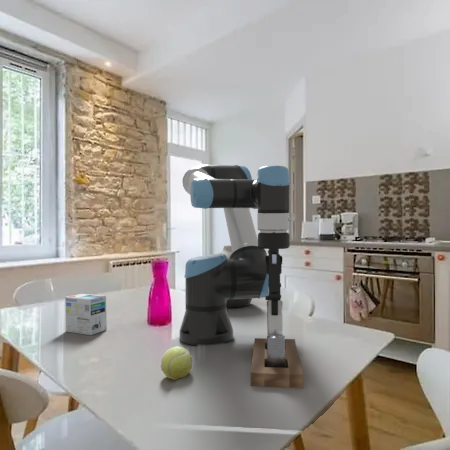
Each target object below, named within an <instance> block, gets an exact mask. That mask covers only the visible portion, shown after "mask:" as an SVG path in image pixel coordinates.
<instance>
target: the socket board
mask: <svg viewBox="0 0 450 450" xmlns="http://www.w3.org/2000/svg"><path fill="white" fill-rule="evenodd" d="M253 342H254V343H253V348H252V349H253V351H252V358H251V359H252V360H251V366H250V387H266V388H267V387H269V388H288V389H289V388H290V389H291V388H294V389H304V373H303V368H302V364H301V360H300V355H299V352H298V347H297V342H296V339H295V338H285V368H275V367H267V337H266V338H264V337H262V338H260V337H255V338H254V341H253Z"/></svg>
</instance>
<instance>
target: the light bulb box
mask: <svg viewBox="0 0 450 450" xmlns="http://www.w3.org/2000/svg"><path fill="white" fill-rule="evenodd" d="M64 300H65V305H64V306H65V332H67V333H74V334H78V335H79V334H80V335H86V336H87V335H88V336H93V335H95V334H98V333H102V332H105V331H107V329H108V328H107V326H108V325H107V295H103V294H102V295H99V294H88V293H87V294H86V293H79V294H75V295H67V296H65V299H64Z"/></svg>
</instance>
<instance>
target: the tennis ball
mask: <svg viewBox="0 0 450 450" xmlns="http://www.w3.org/2000/svg"><path fill="white" fill-rule="evenodd" d="M192 367H193V358H192V355H191V354H190V352H189V351H188V350H187V349H186V348H184V347H183V346H172V347H169V348H168V349H166V351H165V352H164V354H163V355H162V357H161V360H160V369H161V371H162V373H163V374H164V376H166V377H167V378H168V379H171V380H174V381H178V379H183V378H185V377H187V375H188V374H190V372H191V370H192Z"/></svg>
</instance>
